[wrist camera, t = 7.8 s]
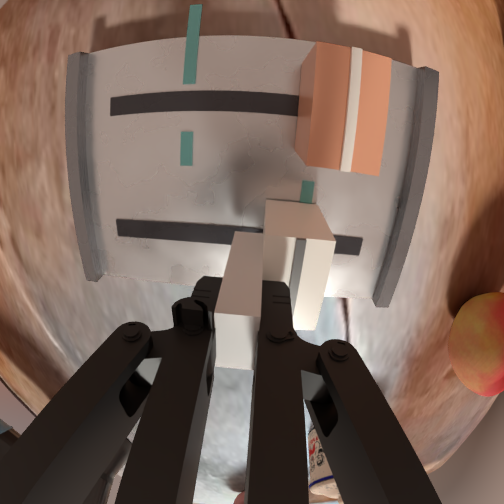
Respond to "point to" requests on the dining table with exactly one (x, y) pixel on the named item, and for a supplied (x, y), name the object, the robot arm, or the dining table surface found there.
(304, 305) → the fader
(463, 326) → the apple
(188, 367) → the robot arm
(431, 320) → the dining table surface
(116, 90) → the console
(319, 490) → the teacup with lid
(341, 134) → the fader
